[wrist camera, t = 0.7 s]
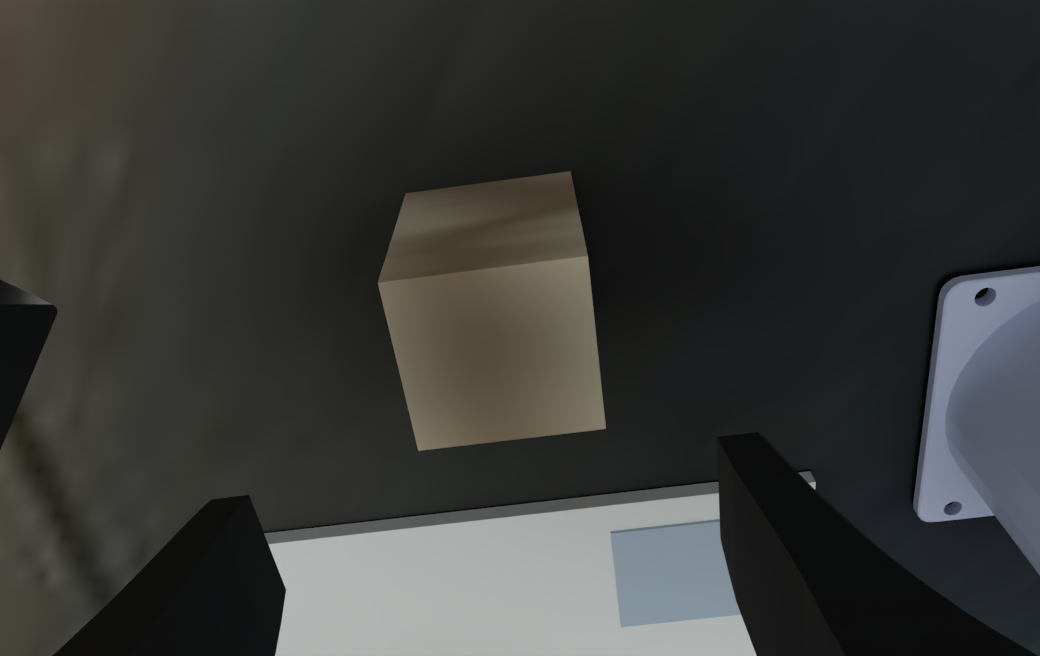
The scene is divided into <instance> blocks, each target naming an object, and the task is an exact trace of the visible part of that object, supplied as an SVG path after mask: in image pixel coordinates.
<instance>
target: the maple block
mask: <svg viewBox="0 0 1040 656" xmlns="http://www.w3.org/2000/svg"><path fill="white" fill-rule="evenodd" d="M378 286H379V290H380V294H381V298H382V303H383V307H384V311H385V315H386V319H387V323H388V327H389V331H390V336H391V340H392V344H393V348H394V352H395V356H396V360H397V365H398V369H399V373H400V377H401V381H402V385H403V389H404V394H405V398H406V402H407V406H408V410H409V414H410V418H411V422H412V427H413V431H414V435H415V439H416V443H417V447H418V451H421V450H429V449H438V448H446V447H455V446H463V445H472V444H481V443H489V442H498V441H506V440H515V439H523V438H532V437H540V436H549V435H557V434H566V433H574V432H583V431H591V430H600V429H606V425H605V415H604V406H603V396H602V387H601V377H600V367H599V358H598V348H597V339H596V329H595V319H594V310H593V300H592V291H591V281H590V271H589V262H588V254H587V249H586V244H585V239H584V235H583V230H582V225H581V220H580V215H579V210H578V205H577V201H576V196H575V191H574V186H573V181H572V176H571V171H568V172H561V173H553V174H546V175H538V176H531V177H523V178H516V179H509V180H501V181H494V182H486V183H479V184H471V185H464V186H457V187H449V188H442V189H434V190H427V191H419V192H412V193H406V194H405V197H404V201H403V204H402V207H401V210H400V213H399V216H398V220H397V223H396V226H395V229H394V232H393V236H392V239H391V242H390V245H389V248H388V252H387V255H386V258H385V261H384V264H383V267H382V271H381V274H380V277H379V280H378Z"/></svg>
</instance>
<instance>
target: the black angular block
mask: <svg viewBox="0 0 1040 656" xmlns="http://www.w3.org/2000/svg"><path fill="white" fill-rule="evenodd" d="M56 315H57V309H56V307H55V306H54V305H52V304H51V303H48V302H46V301H44V300H42V299H40V298H38V297H36V296H34V295H32V294H29V293H27V292H25V291H23V290H21V289H19V288H17V287H15V286H13V285H10V284H8V283H6V282H4V281H2V280H0V449H1V447H2V445H3V442H4V440H5V437H6V435H7V433H8V430H9V428H10V425H11V423H12V421H13V418H14V416H15V413H16V411H17V408H18V406H19V404H20V401H21V399H22V396H23V394H24V392H25V389H26V387H27V384H28V382H29V380H30V377H31V375H32V372H33V370H34V368H35V365H36V363H37V360H38V358H39V356H40V353H41V351H42V348H43V346H44V344H45V341H46V339H47V336H48V334H49V332H50V329H51V327H52V324H53V322H54V320H55V317H56Z"/></svg>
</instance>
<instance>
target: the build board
mask: <svg viewBox="0 0 1040 656" xmlns="http://www.w3.org/2000/svg"><path fill="white" fill-rule="evenodd" d="M798 473H799V474H800V475H801V476H802V477H803V478H804V479H805V480H806V481H807V482H808V483H809V484H810V485H811V486H812V487H813V488H814V489H815V486H816V482H815V480H814V478H813V476H812V474H811V472H810V471H807V472H798ZM264 535H265V537H266V540H267V542H268V545H269V547H270V550H271V553H272V555H273V558H274V560H275V563H276V565H277V568H278V570H279V573H280V576H281V578H282V581H283V583H284V586H285V588H286V594H285V601H284V607H283V614H282V621H281V627H280V632H279V638H278V643H277V649H276V653H275V656H757V655H756V653H755V650H754V647H753V645H752V642H751V639H750V637H749V634H748V632H747V629H746V626H745V624H744V621H743V618H742V616H741V613H740V610H739V608H738V605H737V602H736V599H735V595H734V591H733V587H732V583H731V580H730V576H729V572H728V568H727V564H726V560H725V556H724V552H723V548H722V544H721V539H720V512H719V486H718V482H710V483H701V484H693V485H684V486H675V487H666V488H658V489H649V490H640V491H631V492H623V493H614V494H605V495H596V496H587V497H579V498H570V499H561V500H552V501H544V502H535V503H526V504H517V505H509V506H500V507H491V508H482V509H473V510H465V511H456V512H447V513H438V514H430V515H421V516H412V517H403V518H395V519H386V520H377V521H368V522H360V523H351V524H342V525H333V526H324V527H316V528H307V529H298V530H289V531H281V532H272V533H264Z"/></svg>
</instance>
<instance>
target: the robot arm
mask: <svg viewBox="0 0 1040 656" xmlns="http://www.w3.org/2000/svg"><path fill="white" fill-rule="evenodd" d="M984 288H988V291H987V293H986V294H985V295H984V296H983V297H982V298H979V299H975V296H976V294H977V293H978V292H979V291H980V290H981V289H984ZM717 459H718V486H719V512H720V539H721V544H722V548H723V552H724V556H725V560H726V564H727V568H728V572H729V576H730V580H731V583H732V587H733V591H734V595H735V599H736V602H737V605H738V608H739V610H740V613H741V616H742V618H743V621H744V624H745V626H746V629H747V632H748V634H749V637H750V639H751V642H752V645H753V647H754V650H755V653H756V655H757V656H1037V655H1035V654H1034V653H1032V652H1030V651H1029V650H1027V649H1025V648H1024V647H1022V646H1020V645H1019V644H1017V643H1015V642H1014V641H1012V640H1010V639H1009V638H1007V637H1005V636H1003V635H1002V634H1000V633H998V632H997V631H995V630H993V629H992V628H990V627H988V626H987V625H985V624H984V623H982V622H980V621H979V620H977V619H976V618H974V617H973V616H971V615H969V614H968V613H966V612H965V611H963V610H962V609H960V608H959V607H957V606H956V605H955V604H953V603H952V602H950V601H949V600H947V599H946V598H945V597H943V596H942V595H940V594H939V593H938V592H936V591H935V590H933V589H932V588H930V587H929V586H928V585H926V584H925V583H924V582H922V581H921V580H920V579H918V578H917V577H916V576H914V575H913V574H912V573H910V572H909V571H908V570H907V569H905V568H904V567H903V566H901V565H900V564H899V563H898V562H896V561H895V560H894V559H893V558H892V557H890V556H889V555H888V554H887V553H885V552H884V551H883V550H882V549H881V548H879V547H878V546H877V545H876V544H874V543H873V542H872V541H871V540H870V539H869V538H867V537H866V536H865V535H864V534H863V533H862V532H860V531H859V530H858V529H857V528H856V527H855V526H854V525H852V524H851V523H850V522H849V521H848V520H847V519H846V518H845V517H844V516H843V515H842V514H840V513H839V512H838V511H837V510H836V509H835V508H834V507H833V506H832V505H831V504H830V503H828V502H827V501H826V500H825V499H824V498H823V497H822V496H821V495H820V494H819V493H818V492H817V491H816V490H815V489H814V488H813V487H812V486H811V485H810V484H809V483H808V482H807V481H806V480H805V479H804V478H803V477H802V476H801V475H800V474H799V473H798V472H797V471H796V470H795V469H794V468H793V467H792V466H791V465H790V464H789V463H788V462H787V461H786V460H785V459H784V458H783V457H782V456H781V455H780V453H779V452H778V451H777V450H776V449H775V448H774V447H773V446H772V445H771V444H770V443H769V442H768V440H767V439H766V438H765V437H763V436H762V435H761V434H759V433H758V432H756V433H748V434H740V435H731V436H723V437H717ZM951 502H953V503H952V504H951V505H948V506H946V505H947V504H948V503H951ZM913 507H914V510H915V512H916V513H917V515H918V516H919V518H920V519H921V520H923V521H926V522H939V521H948V520H957V519H966V518H975V517H984V516H993V515H995V516H996V518H997V519H998V520H999V522H1000V523H1001V524H1002V526H1003V527H1004V528H1005V530H1006V531H1007V532H1008V534H1009V535H1010V536H1011V538H1012V539H1013V540H1014V542H1015V543H1016V544H1017V546H1018V547H1019V548H1020V550H1021V551H1022V552H1023V554H1024V555H1025V556H1026V558H1027V559H1028V560H1029V562H1030V563H1031V564H1032V566H1033V567H1034V568H1035V570H1036V571H1037V572H1038V574H1039V575H1040V266H1036V267H1028V268H1020V269H1012V270H1004V271H996V272H988V273H980V274H972V275H964V276H959V277H956V278H953V279H951V280H950V281H948V282H947V283H946V284H945V285H944V286H943V287H942V289H941V291H940V294H939V298H938V306H937V314H936V322H935V330H934V339H933V347H932V355H931V363H930V371H929V379H928V387H927V395H926V404H925V412H924V420H923V428H922V436H921V444H920V452H919V460H918V469H917V477H916V485H915V493H914V501H913ZM285 594H286V588H285V586H284V583H283V581H282V578H281V576H280V573H279V570H278V568H277V565H276V563H275V560H274V558H273V555H272V553H271V550H270V547H269V545H268V542H267V540H266V537H265V535H264V532H263V530H262V527H261V524H260V522H259V519H258V517H257V514H256V512H255V509H254V506H253V504H252V501H251V499H250V496H249V495H245V496H237V497H229V498H221V499H212V500H210V501H209V502H208V503H207V504H206V505H205V506H204V507H203V508H202V509H201V510H200V511H199V512H198V513H197V514H196V515H195V516H194V517H193V518H192V519H191V520H190V521H189V522H188V523H187V524H186V525H185V526H184V527H183V528H182V529H181V530H180V531H179V532H178V533H177V534H176V535H175V536H174V537H173V538H172V539H171V540H170V541H169V542H168V543H167V544H166V545H165V546H164V547H163V548H162V549H161V551H160V552H159V553H158V554H157V555H156V556H155V557H154V558H153V559H152V560H151V561H150V562H149V563H148V564H147V565H146V566H145V567H144V568H143V569H142V570H141V571H140V572H139V573H138V574H137V575H136V576H135V577H134V578H133V579H132V580H131V581H130V582H129V583H128V584H127V585H126V586H125V587H124V588H123V589H122V590H121V591H120V592H119V593H118V594H117V595H116V596H115V597H114V598H113V599H112V600H111V601H110V602H109V603H108V604H107V605H106V606H105V607H104V608H103V609H102V610H101V611H100V612H99V613H98V614H97V615H96V616H95V617H93V618H92V619H91V620H90V621H89V622H88V623H87V624H86V625H85V626H84V627H83V628H82V629H81V630H80V631H79V632H78V633H77V634H75V635H74V636H73V637H72V638H71V639H70V640H69V641H68V642H67V643H66V644H65V645H64V646H63V647H62V648H61V649H60V650H59V651H57V652H56V653H55V654H54V655H53V656H275V653H276V649H277V643H278V638H279V632H280V627H281V621H282V614H283V607H284V601H285Z"/></svg>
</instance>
